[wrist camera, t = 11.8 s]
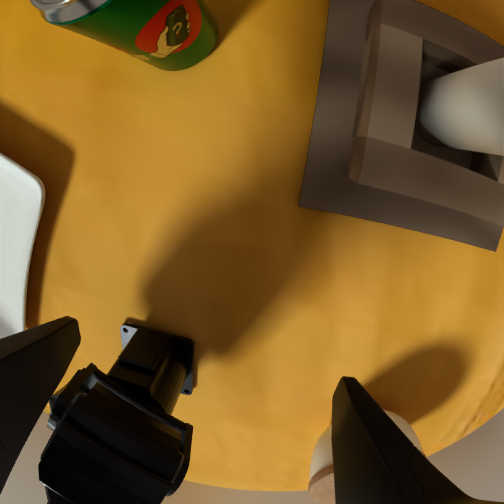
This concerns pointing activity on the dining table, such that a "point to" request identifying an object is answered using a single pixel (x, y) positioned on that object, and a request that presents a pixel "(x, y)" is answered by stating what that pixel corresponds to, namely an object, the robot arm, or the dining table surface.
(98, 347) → the dining table surface
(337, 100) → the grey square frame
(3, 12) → the dining table surface
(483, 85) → the cream peg
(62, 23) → the soda can
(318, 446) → the lidded jar
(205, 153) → the dining table surface
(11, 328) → the salad plate
